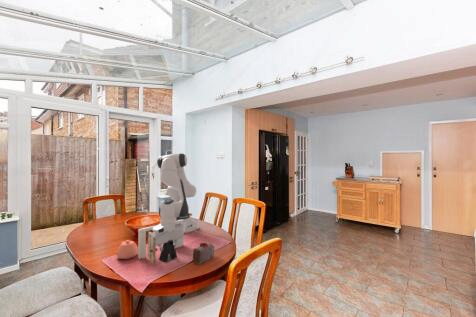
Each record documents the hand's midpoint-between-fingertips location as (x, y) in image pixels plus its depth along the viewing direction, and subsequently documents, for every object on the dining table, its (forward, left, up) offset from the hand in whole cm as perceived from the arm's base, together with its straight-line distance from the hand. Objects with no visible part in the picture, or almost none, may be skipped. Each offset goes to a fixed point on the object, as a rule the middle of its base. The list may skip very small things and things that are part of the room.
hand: (167, 248), depth 135 cm
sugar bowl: (+17, -21, -6) cm, 28 cm away
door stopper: (0, 0, -6) cm, 6 cm away
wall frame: (-3, -12, -6) cm, 14 cm away
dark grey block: (-16, +16, -6) cm, 23 cm away
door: (+8, -4, -6) cm, 11 cm away
